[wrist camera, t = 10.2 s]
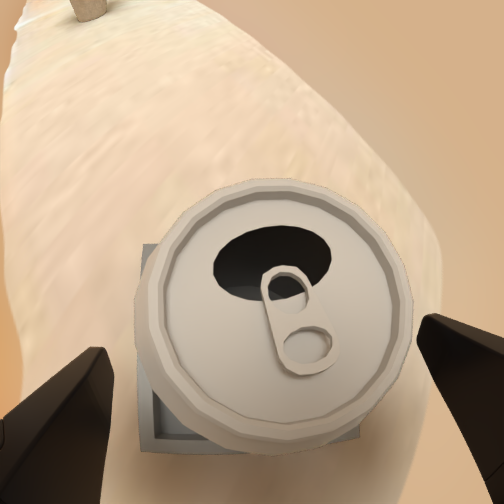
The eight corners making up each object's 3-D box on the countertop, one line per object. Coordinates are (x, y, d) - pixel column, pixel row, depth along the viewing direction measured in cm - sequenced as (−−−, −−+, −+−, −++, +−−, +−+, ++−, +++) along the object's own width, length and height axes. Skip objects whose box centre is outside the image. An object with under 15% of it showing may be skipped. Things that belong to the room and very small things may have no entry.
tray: (343, 432, 16) (359, 437, 14) (150, 443, 15) (140, 451, 13) (325, 258, 21) (338, 243, 18) (151, 260, 19) (143, 244, 17)
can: (287, 277, 19) (368, 142, 8) (323, 393, 17) (470, 389, 6) (168, 304, 18) (101, 181, 7) (198, 428, 15) (161, 508, 4)
